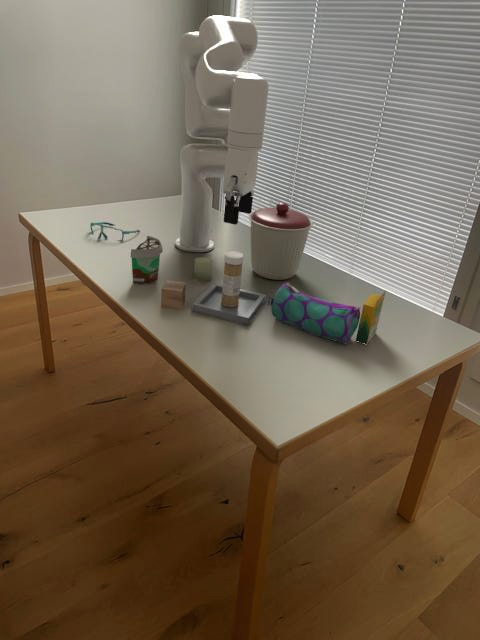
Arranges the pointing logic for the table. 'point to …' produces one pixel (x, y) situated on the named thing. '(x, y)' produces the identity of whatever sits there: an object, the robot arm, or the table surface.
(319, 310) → the pencil case
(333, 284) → the table surface
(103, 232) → the teal glasses
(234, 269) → the sprinkles bottle
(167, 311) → the table surface
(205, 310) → the slate tray
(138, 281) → the food container
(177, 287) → the brown wooden cube
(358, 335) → the crayon box
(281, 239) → the canister
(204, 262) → the olive cylinder
